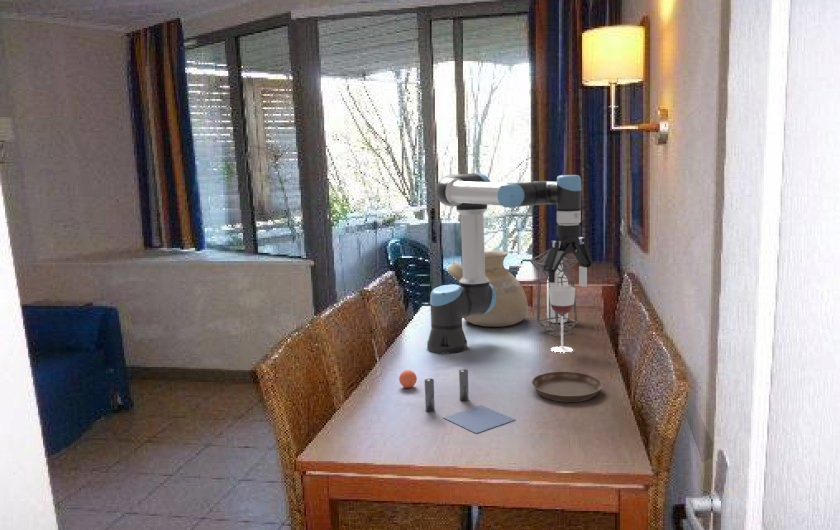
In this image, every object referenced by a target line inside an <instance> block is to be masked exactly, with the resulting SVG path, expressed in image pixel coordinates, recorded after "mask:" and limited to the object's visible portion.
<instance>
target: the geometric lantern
mask: <svg viewBox="0 0 840 530" xmlns="http://www.w3.org/2000/svg"><path fill="white" fill-rule="evenodd" d="M549 251H550V248H549V249H547V250H545V251H544V252H542V253H541V254H539V255H537V256H535V257H533V258H532V259H531V260H530V264H532V266H533V267H534V268H535V270H537V271H538V277H537V300H536V301H537V306H536V307H537V308H536V309H537V311H536V323H537V324H539V325H540V326H541V327H543V330H544V334H547V335H551V336H554V337H561V334H559V332H561V330H558V329H561V323H560V324H558V318H561V317H558V313H556V312H555V317H553V318H550V295H549V318H548V319H547V318H543V319H540V318H541V317H540V315H541V311H540V310H541V290H542V289H541V288H542V287H541V286H542V283H543V282H544V283H546V284H547V283H549V288H550V282H547V281H546V280H547V279H548V281H549V278H548V277H549V276H548V275H547V273H546V271H544V265H545V262H546V260H547V257H548V254H549ZM543 255H544V256H543ZM541 256H543V257H542V258H541V259H538V258H539V257H541ZM562 264H563V265H565V266H566V268H565V269H564V267H563V268H562ZM571 264H572V265H571ZM577 264H579V261H578V260H577V258H576V257H575V255H574V254H573V253H569V254H566V255H565V256H564V257H563V259H562V263H560V266H561V268H562V271H561V270H560V269H559V268H557V269H558V270H559V271H560V272H563V275H562V277H558V278H561V282H558V283H561V286H563V283H562V282H568V283H569V282H570V285H571V286H572V287H575V278H573V273H572V269H573V268H574V266H575V265H577ZM536 265H537V266H536ZM567 271H568V274H569V276H570V277H567V276H566V277H567V278H566V277H563V276H564V275H566V272H567ZM540 272H541V274H540ZM560 272H559V273H560ZM543 274H544V276H545V278H542V277H543ZM558 275H559V274H558ZM562 278H566V279H567V280H568V281H562ZM577 312H578V311H577V301H576V299H575V300H574V305H573V314H574V319H572V318H569V317H568V318H565V316H563V320H564V319H567V321H572V322H571V323H563V330H564V331H563V332H566V331H567V333H563V336H567V335H571V334H572V328H574V327H575V326H576V325H577V324H578V315H577ZM555 318H556V324H552V323H551V320H550V319H555ZM548 320H549V322H548V324H546V323H545V321H548ZM543 321H544V323H543ZM551 324H552V325H551ZM564 327H565V328H564ZM568 330H569V331H568ZM551 331H552V332H554V334H553V333H550V332H551ZM556 332H557V333H556Z"/></svg>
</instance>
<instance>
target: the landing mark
mask: <svg viewBox="0 0 840 530" xmlns="http://www.w3.org/2000/svg"><path fill="white" fill-rule="evenodd" d="M443 419H445V420H446V421H448V422H451V423H452V424H455V425H457V426H458V427H461V428H463V429H466V430H467V431H469V432H471V433H473V434H475V435H477V434H479V433H483V432H485V431H489V430H492V429H494V428H496V427H497V428H498V427H500V426H503V425H505V424H509V423H511V422H514V421H516V419H515V418H513V417H510V416H508V415H506V414H503V413H501V412H499V411H496V410H494V409H491V408H489V407H487V406H484V405H483V404H482V405H481V404H480V405H477V406H475V407H471V408H469V409H465V410H462V411H460V412H455V413H452V414H449V415H446V416H443Z"/></svg>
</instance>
